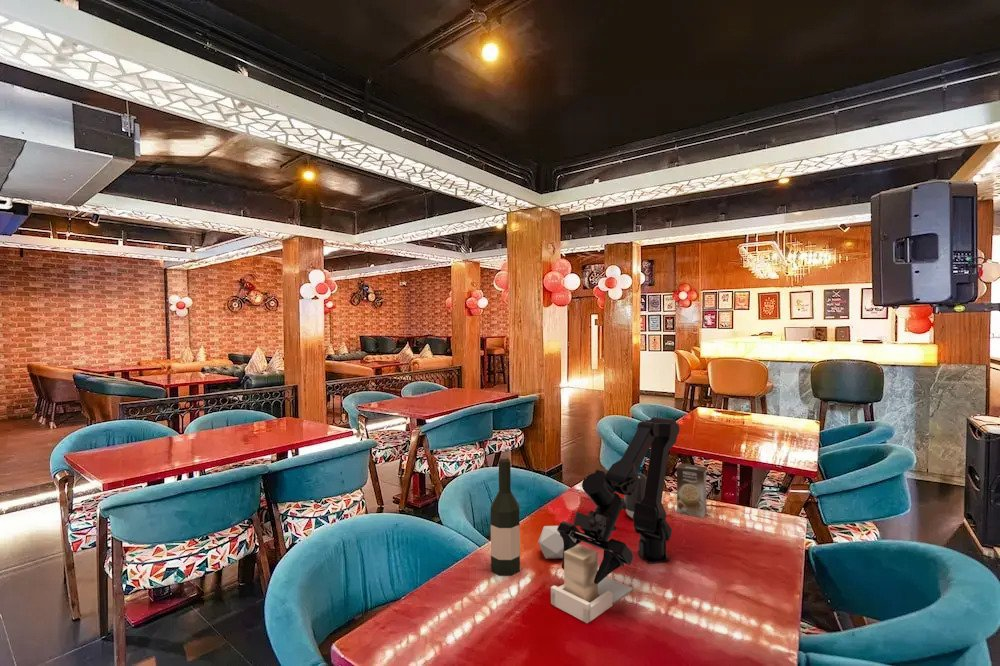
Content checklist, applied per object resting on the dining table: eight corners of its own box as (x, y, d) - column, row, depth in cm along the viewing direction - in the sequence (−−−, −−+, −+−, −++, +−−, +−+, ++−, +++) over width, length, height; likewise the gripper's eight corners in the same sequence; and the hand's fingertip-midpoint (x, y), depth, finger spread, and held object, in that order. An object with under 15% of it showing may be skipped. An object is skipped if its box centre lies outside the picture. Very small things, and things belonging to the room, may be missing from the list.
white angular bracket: (576, 588, 118) (576, 572, 118) (612, 605, 110) (612, 588, 110) (551, 604, 111) (550, 587, 111) (587, 623, 104) (587, 605, 104)
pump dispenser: (617, 514, 165) (617, 470, 165) (643, 510, 169) (643, 467, 169) (634, 525, 156) (634, 479, 156) (661, 521, 159) (660, 476, 159)
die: (561, 569, 129) (578, 534, 132) (532, 550, 130) (550, 517, 133) (557, 566, 137) (573, 533, 140) (530, 548, 138) (547, 517, 141)
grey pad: (599, 574, 124) (599, 573, 124) (633, 589, 117) (633, 588, 117) (579, 587, 118) (579, 585, 118) (614, 603, 111) (614, 602, 111)
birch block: (579, 595, 114) (578, 544, 114) (598, 605, 110) (597, 551, 110) (564, 605, 111) (564, 551, 111) (583, 615, 107) (583, 559, 107)
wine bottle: (525, 564, 130) (524, 455, 130) (513, 578, 123) (512, 463, 123) (498, 558, 134) (497, 452, 134) (485, 572, 126) (483, 459, 126)
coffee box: (676, 513, 166) (675, 467, 166) (679, 507, 171) (679, 462, 171) (704, 518, 161) (703, 471, 161) (707, 512, 166) (706, 466, 166)
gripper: (561, 489, 120) (532, 546, 113) (625, 508, 107) (597, 574, 99) (580, 512, 126) (553, 567, 118) (644, 533, 112) (618, 597, 105)
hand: (578, 575), depth 110 cm, fingers open, 9 cm apart
